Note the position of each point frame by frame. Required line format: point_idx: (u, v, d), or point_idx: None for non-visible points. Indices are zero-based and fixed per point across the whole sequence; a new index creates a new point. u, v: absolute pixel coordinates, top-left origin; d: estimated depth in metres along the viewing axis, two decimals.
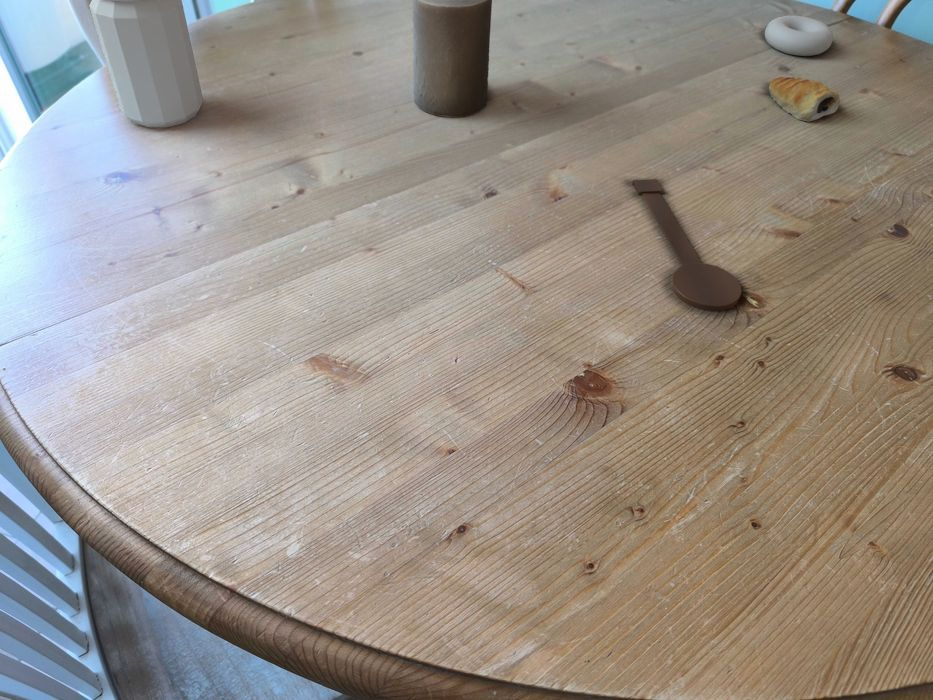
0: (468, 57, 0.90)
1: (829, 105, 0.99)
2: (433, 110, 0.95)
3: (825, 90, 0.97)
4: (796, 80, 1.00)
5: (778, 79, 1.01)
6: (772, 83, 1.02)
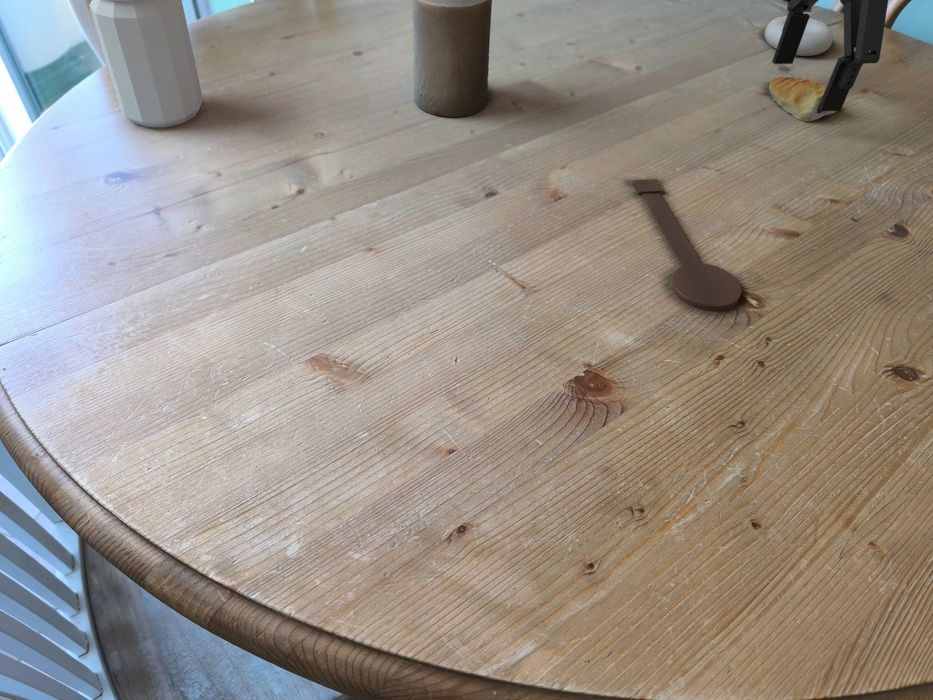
0: (468, 56, 0.90)
1: None
2: (433, 110, 0.95)
3: None
4: (796, 80, 1.00)
5: (778, 79, 1.01)
6: (772, 83, 1.02)
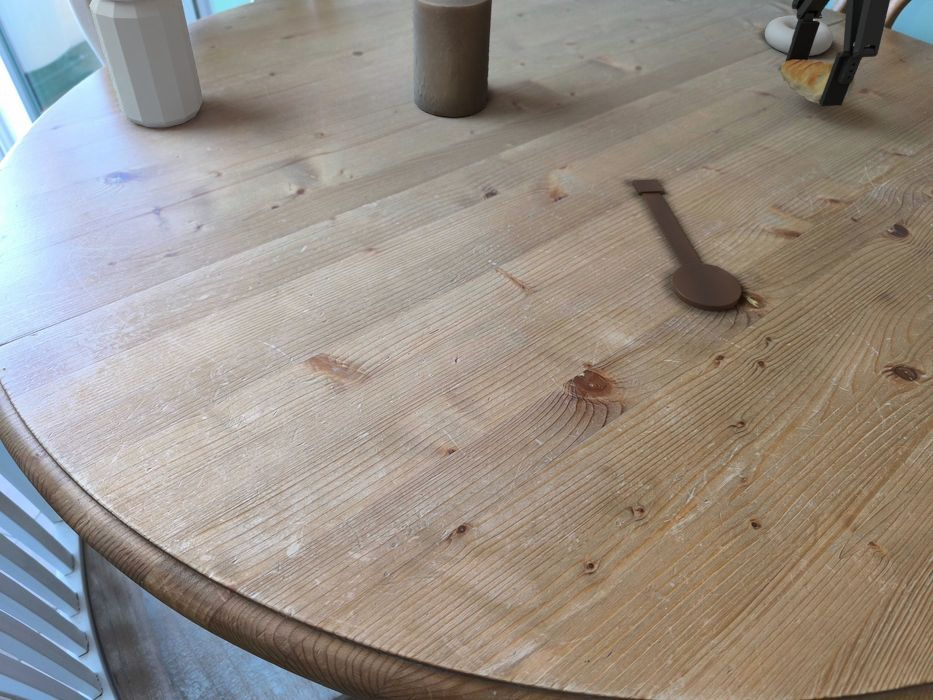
0: (468, 56, 0.90)
1: None
2: (433, 110, 0.95)
3: None
4: (809, 62, 0.97)
5: (790, 62, 0.99)
6: (784, 66, 0.99)
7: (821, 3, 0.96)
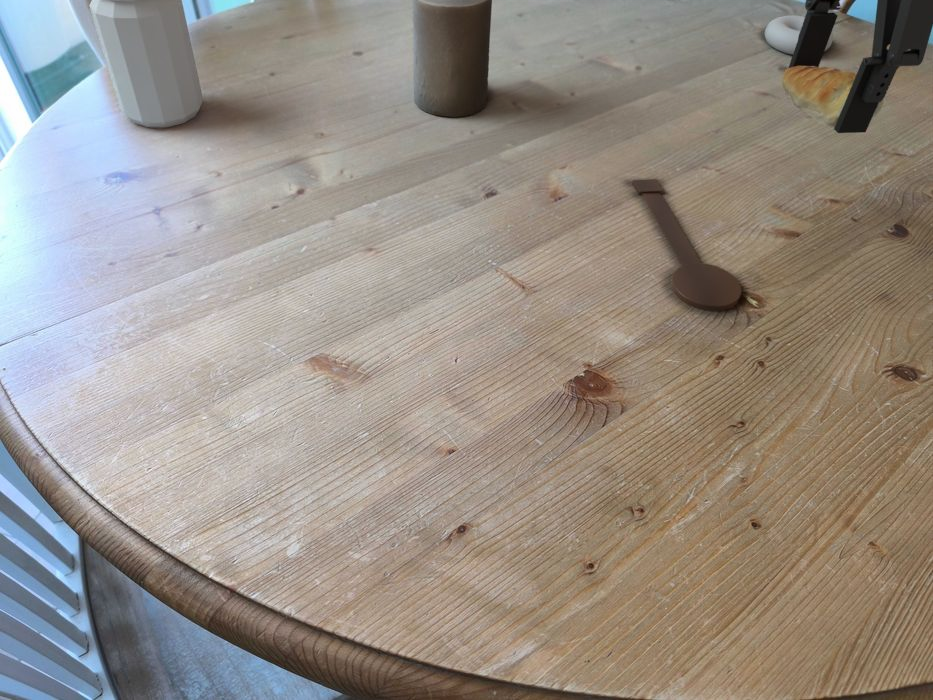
0: (468, 56, 0.90)
1: None
2: (433, 110, 0.95)
3: None
4: (821, 70, 0.70)
5: (795, 69, 0.72)
6: (786, 74, 0.72)
7: None
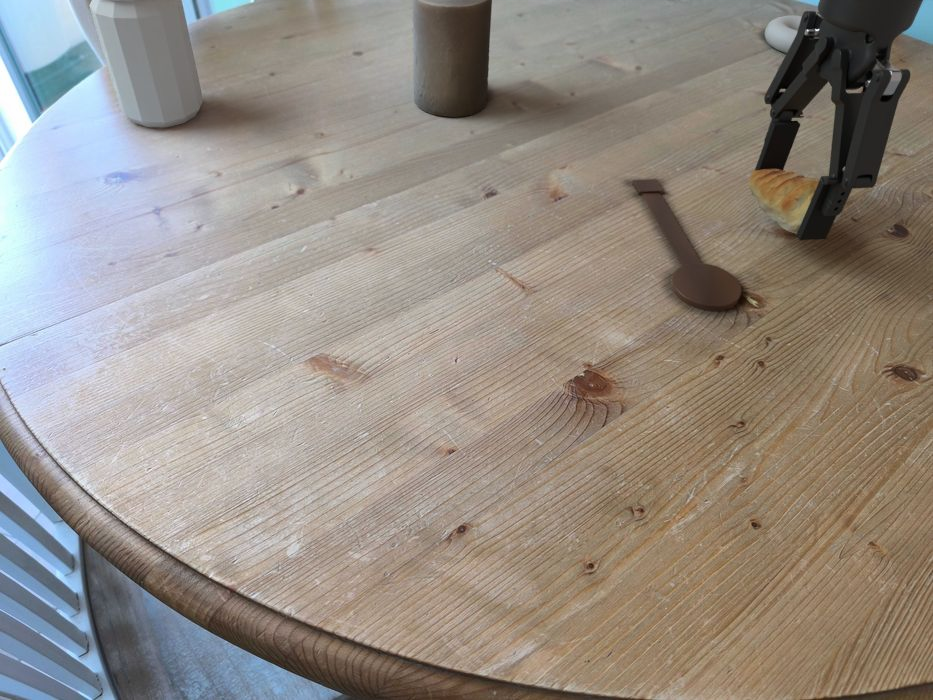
0: (468, 56, 0.90)
1: None
2: (433, 110, 0.95)
3: None
4: (784, 177, 0.74)
5: (761, 173, 0.76)
6: (753, 178, 0.76)
7: (802, 101, 0.72)
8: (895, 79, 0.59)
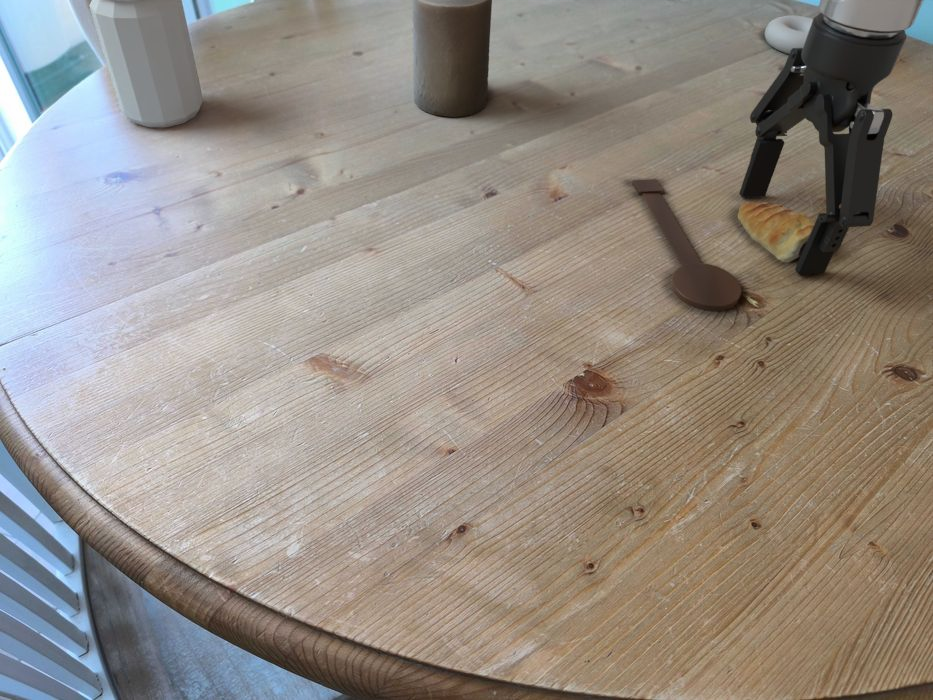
0: (468, 56, 0.90)
1: None
2: (433, 110, 0.95)
3: (809, 229, 0.74)
4: (772, 211, 0.77)
5: (749, 206, 0.78)
6: (742, 211, 0.79)
7: (786, 126, 0.75)
8: (878, 117, 0.62)
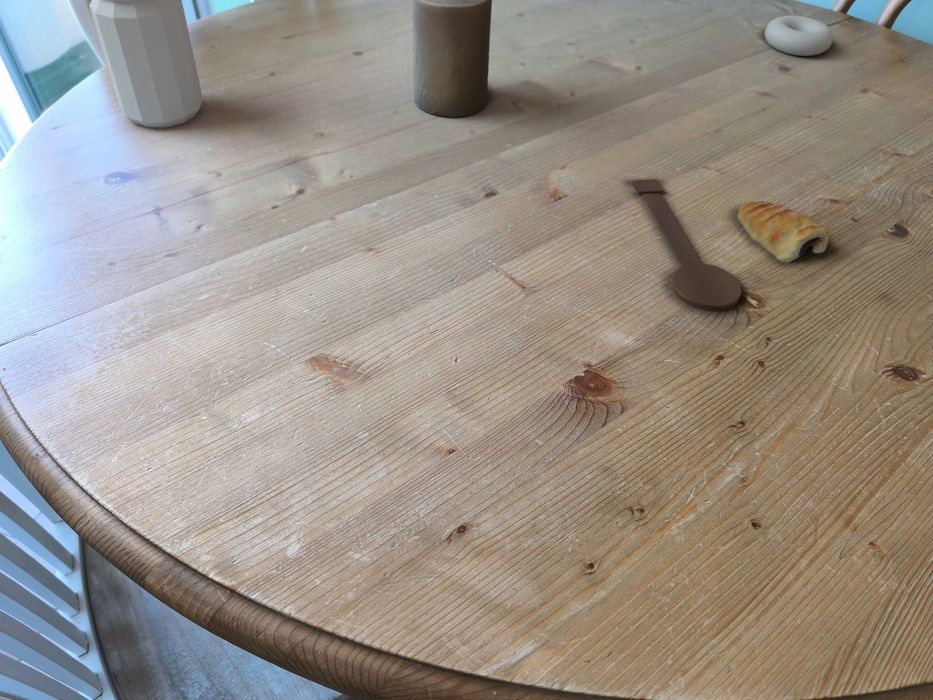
0: (468, 56, 0.90)
1: (815, 245, 0.76)
2: (433, 110, 0.95)
3: (809, 229, 0.74)
4: (772, 211, 0.77)
5: (749, 206, 0.78)
6: (742, 211, 0.79)
7: None
8: None
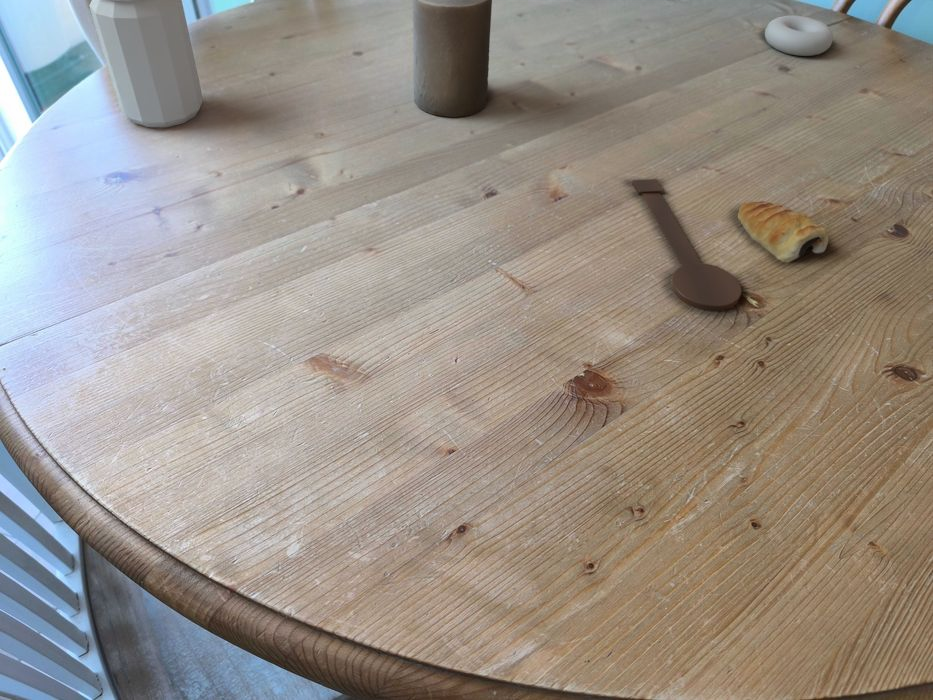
0: (468, 56, 0.90)
1: (815, 245, 0.76)
2: (433, 110, 0.95)
3: (809, 229, 0.74)
4: (772, 211, 0.77)
5: (749, 206, 0.78)
6: (742, 211, 0.79)
7: None
8: None
